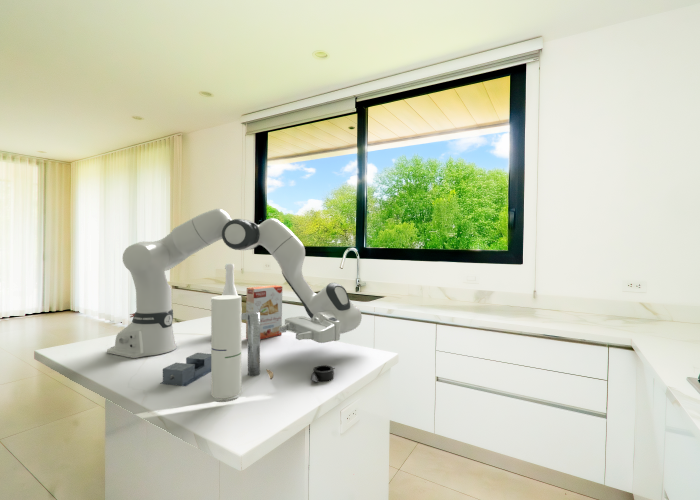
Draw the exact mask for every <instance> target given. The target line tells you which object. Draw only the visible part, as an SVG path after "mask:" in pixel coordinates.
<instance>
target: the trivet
mask: <svg viewBox="0 0 700 500" xmlns="http://www.w3.org/2000/svg"><path fill="white" fill-rule="evenodd" d="M265 371H266V372H267V375H268V377H269V379H270V380H272V379H273V378H274V372H273V371H272V370H271V369H267V368H266V369H265Z"/></svg>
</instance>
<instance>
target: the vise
mask: <svg viewBox="0 0 700 500" xmlns="http://www.w3.org/2000/svg"><path fill="white" fill-rule="evenodd" d="M209 373H211V353H206V352H205V353H204V352H203V353H202V352H196V353H194V354H192V355H189V356H188V357H185V363H183V362H175V363H172V364H170V365H168V366H166V367H164V368H162V381H161V382H159V384H162V385H171V386H178V387H179V386H180V387H181V386H182V387H187V386H188V385H191V384H192V383H194V382H195V381H197V380H199V379H200V378H202V377H204V376H206V375H208V374H209Z"/></svg>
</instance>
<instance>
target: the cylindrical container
mask: <svg viewBox="0 0 700 500" xmlns="http://www.w3.org/2000/svg"><path fill="white" fill-rule="evenodd" d="M210 298H211V301H210V303H211V305H210V307H211V308H210V309H211V311H210V313H211V315H210V318H211V322H210V325H211V328H210V329H211V330H210V331H211V332H210V333H211V335H210V337H211V338H210V339H211V343H210V346H211V349H210V351H211V352H210V354H211V372H210V373H211V375H210V377H211V379H210V380H211V381H210V382H211V384H210V385H211V387H210V388H211V392H210V394H211V396H212V397H213V398H215V399H219V400H215V401H214V402H217V403H228V402H233V401H235V400H237V399H239V397H235V396H238V395H240V393H241V392H242V331H241V306H242V295H239V294H238V295H222V294H221V295H214V296H211V297H210Z"/></svg>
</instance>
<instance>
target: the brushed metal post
mask: <svg viewBox="0 0 700 500" xmlns="http://www.w3.org/2000/svg"><path fill="white" fill-rule="evenodd" d="M241 320H243V321H246V320H248V339H247V376H249V377H257V376H259V375H260V374H261V339H260V312H249V313H246V312H242V313H241Z"/></svg>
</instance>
